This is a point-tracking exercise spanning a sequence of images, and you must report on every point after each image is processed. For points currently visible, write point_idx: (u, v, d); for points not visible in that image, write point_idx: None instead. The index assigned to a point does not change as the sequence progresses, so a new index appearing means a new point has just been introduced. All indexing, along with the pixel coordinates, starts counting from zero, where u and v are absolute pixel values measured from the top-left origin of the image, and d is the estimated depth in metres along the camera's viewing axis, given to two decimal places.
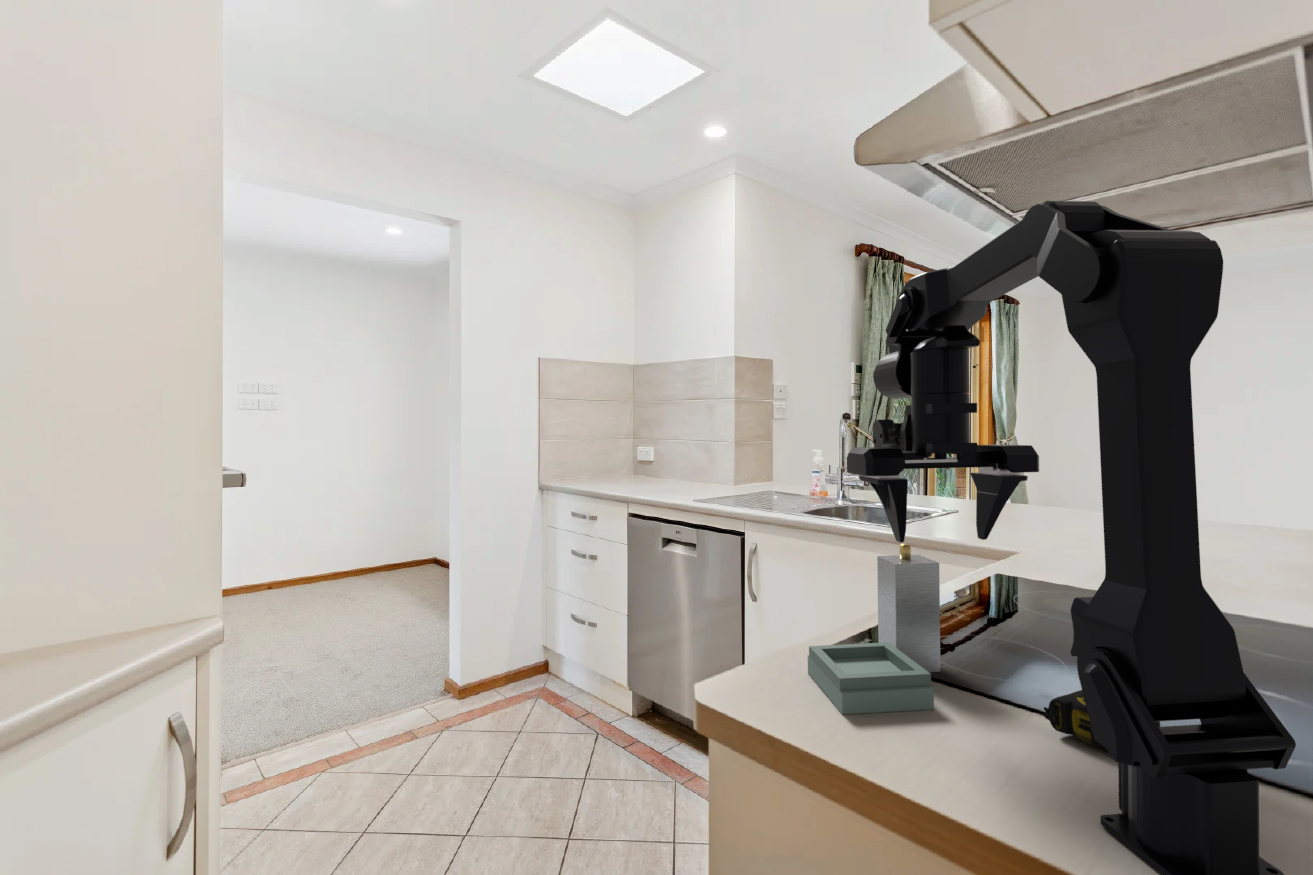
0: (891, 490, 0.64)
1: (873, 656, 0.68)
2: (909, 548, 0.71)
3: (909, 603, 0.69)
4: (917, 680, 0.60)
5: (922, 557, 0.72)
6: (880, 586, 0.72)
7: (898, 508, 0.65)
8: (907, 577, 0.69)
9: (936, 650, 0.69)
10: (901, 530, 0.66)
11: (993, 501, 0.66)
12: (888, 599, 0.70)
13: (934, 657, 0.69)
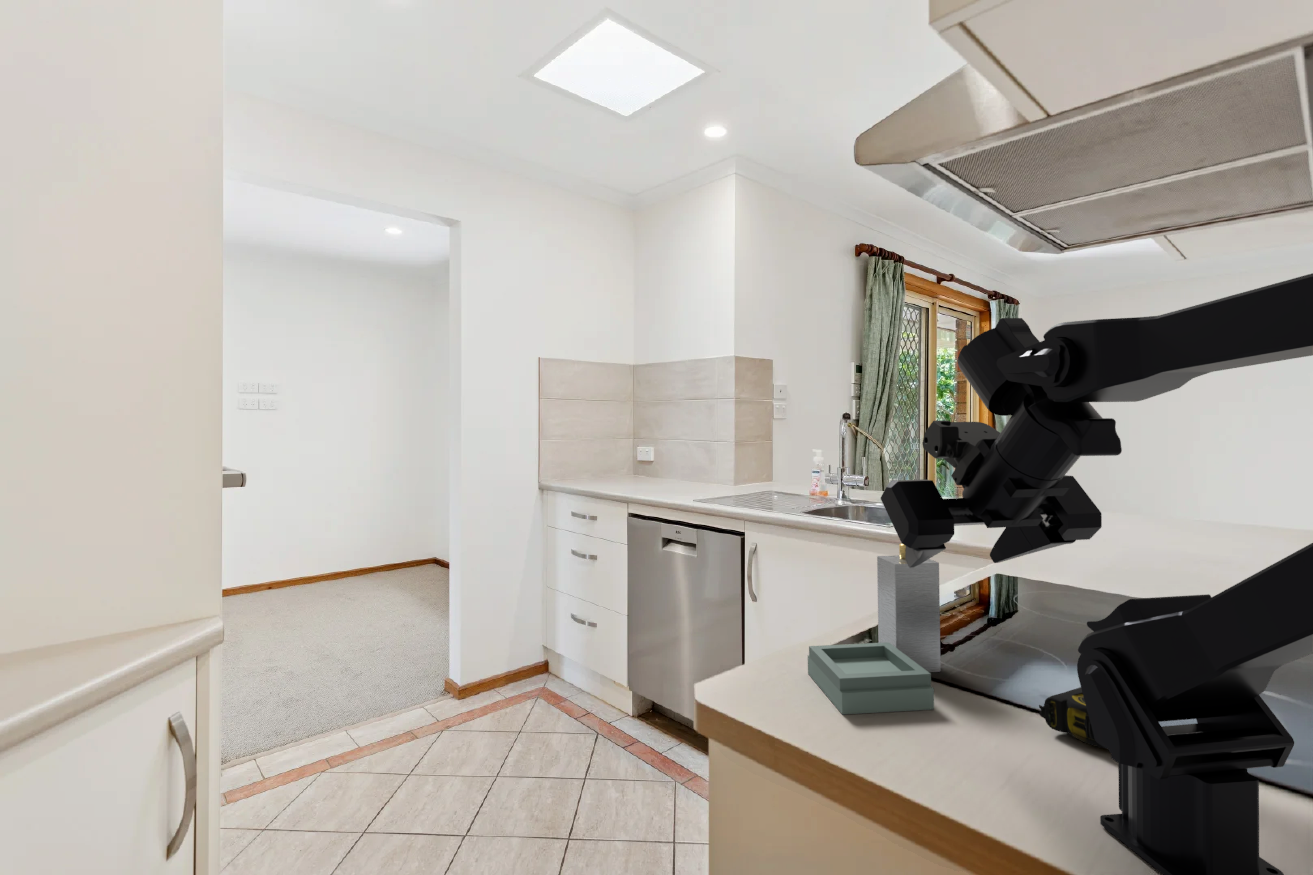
0: (923, 552, 0.56)
1: (873, 656, 0.68)
2: None
3: (909, 603, 0.69)
4: (917, 680, 0.60)
5: None
6: (880, 586, 0.72)
7: (922, 558, 0.58)
8: (906, 577, 0.69)
9: (936, 650, 0.69)
10: (915, 564, 0.61)
11: (1025, 548, 0.60)
12: (888, 599, 0.70)
13: (934, 657, 0.69)
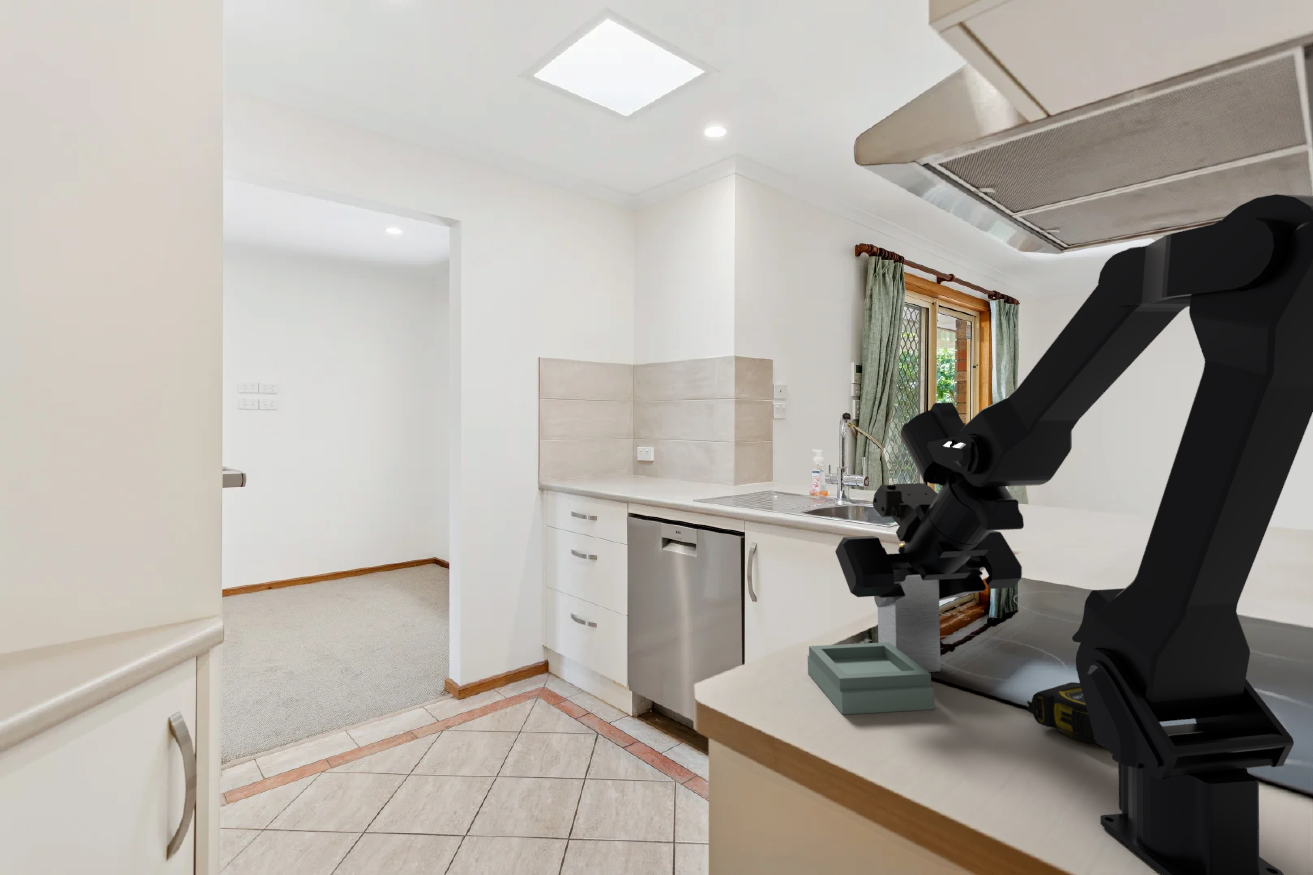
0: (886, 598, 0.66)
1: (873, 656, 0.68)
2: None
3: (908, 603, 0.69)
4: (917, 680, 0.60)
5: None
6: None
7: (886, 601, 0.68)
8: (906, 577, 0.69)
9: (936, 650, 0.69)
10: (882, 605, 0.71)
11: (944, 594, 0.69)
12: None
13: (934, 657, 0.69)
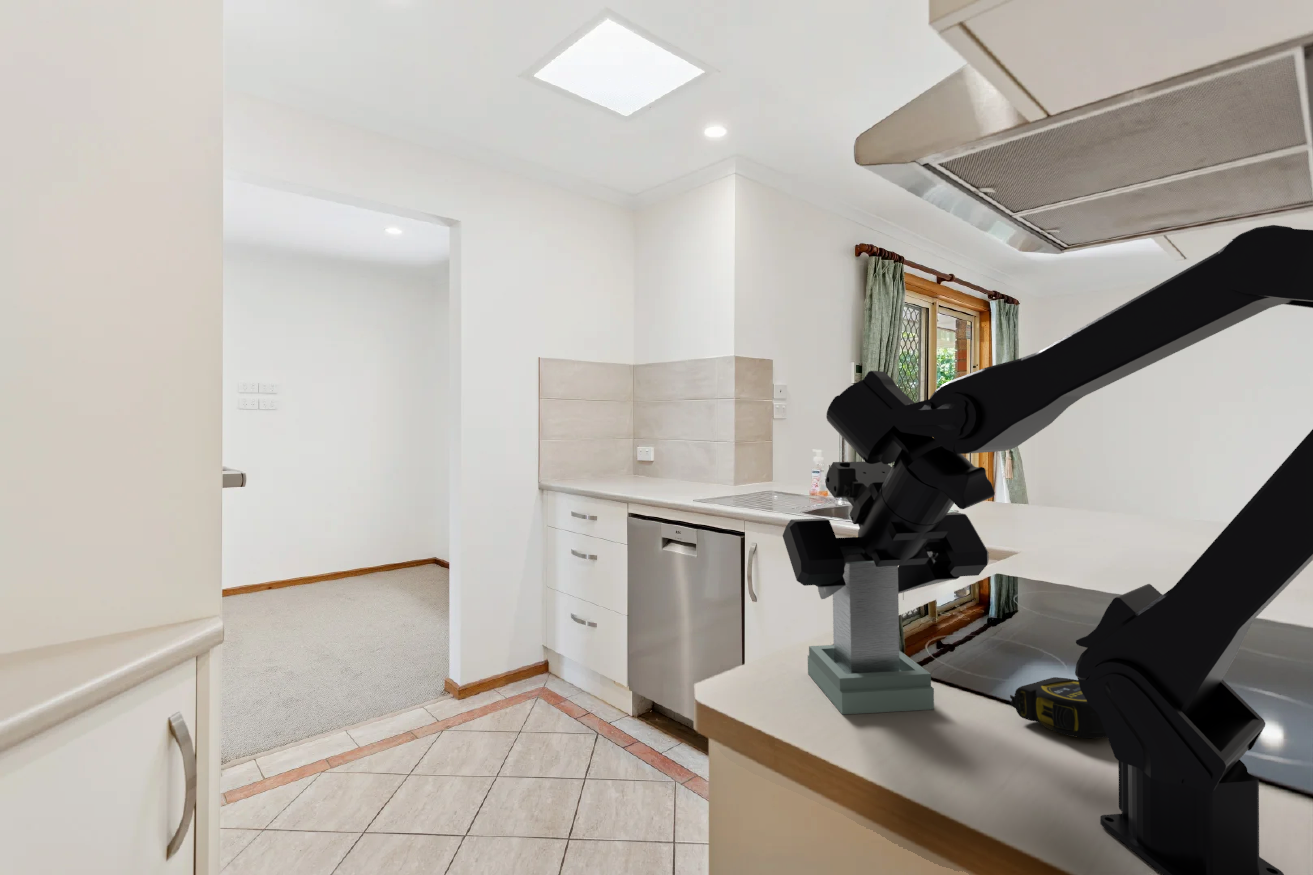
0: (825, 588, 0.59)
1: None
2: None
3: (865, 601, 0.62)
4: (917, 680, 0.60)
5: None
6: None
7: (827, 592, 0.61)
8: (862, 573, 0.62)
9: (895, 653, 0.63)
10: (825, 596, 0.64)
11: (915, 583, 0.63)
12: (843, 597, 0.64)
13: (893, 661, 0.63)
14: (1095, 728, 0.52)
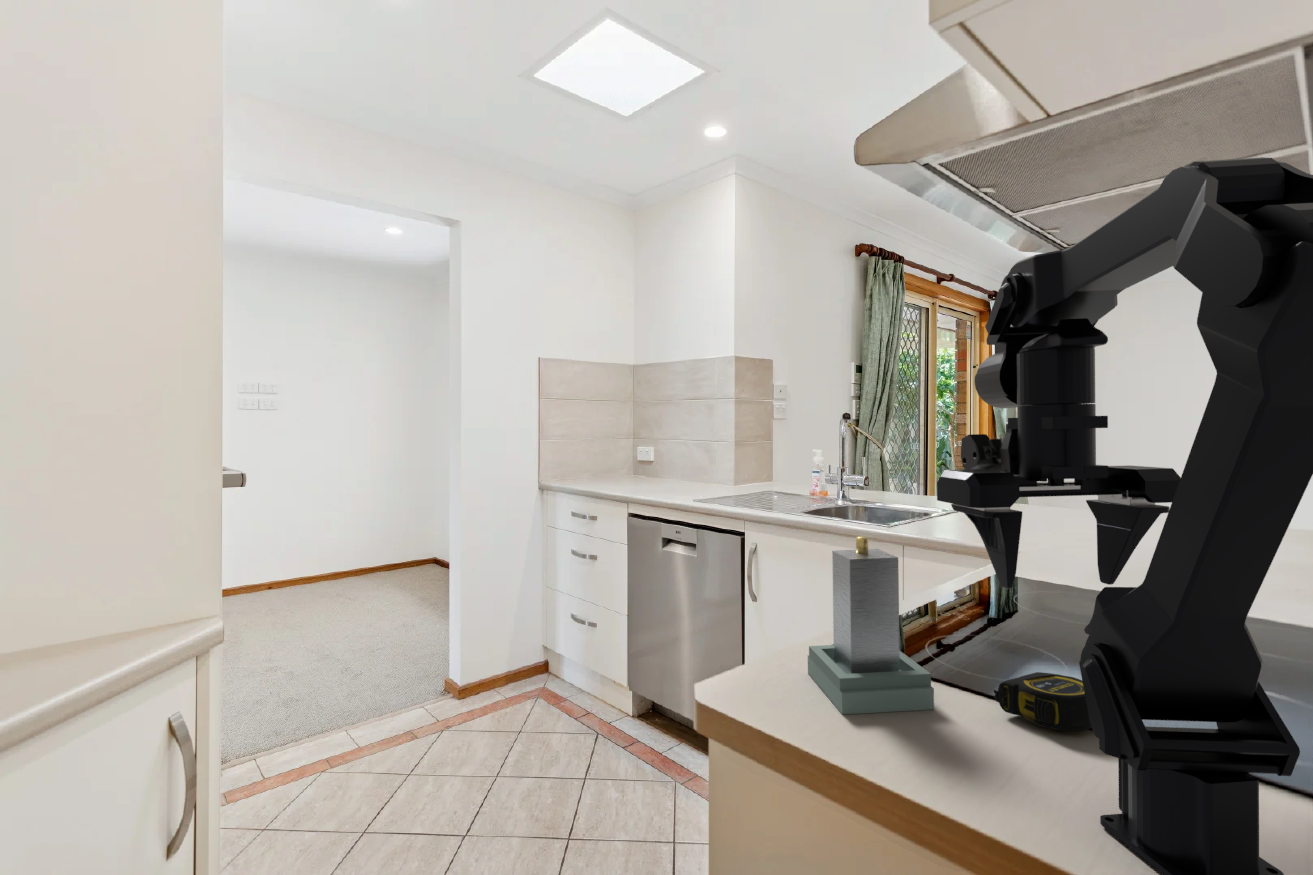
0: (1001, 525, 0.51)
1: None
2: (866, 541, 0.64)
3: (865, 602, 0.62)
4: (917, 680, 0.60)
5: (881, 551, 0.65)
6: (835, 583, 0.66)
7: (1008, 547, 0.52)
8: (862, 574, 0.62)
9: (895, 654, 0.63)
10: (1010, 574, 0.53)
11: (1124, 538, 0.53)
12: (843, 598, 0.64)
13: (893, 662, 0.63)
14: (1075, 721, 0.54)
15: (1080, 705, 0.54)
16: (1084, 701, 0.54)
